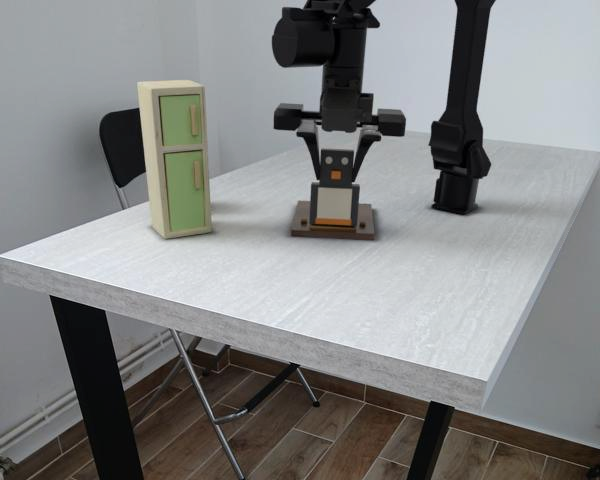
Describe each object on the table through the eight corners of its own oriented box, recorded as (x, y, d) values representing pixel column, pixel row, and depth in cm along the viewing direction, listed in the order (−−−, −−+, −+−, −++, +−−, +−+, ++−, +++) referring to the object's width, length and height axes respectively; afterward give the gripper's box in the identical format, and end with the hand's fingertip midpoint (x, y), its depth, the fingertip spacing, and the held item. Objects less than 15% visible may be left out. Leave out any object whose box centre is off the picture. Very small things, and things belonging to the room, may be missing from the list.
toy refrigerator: (164, 241, 97) (151, 88, 85) (150, 227, 102) (136, 81, 91) (214, 234, 100) (207, 86, 89) (197, 221, 106) (189, 79, 94)
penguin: (356, 223, 103) (357, 227, 100) (310, 220, 103) (309, 224, 100) (362, 150, 98) (362, 152, 95) (313, 147, 98) (312, 149, 95)
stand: (373, 240, 100) (374, 229, 99) (290, 236, 101) (291, 225, 100) (370, 209, 114) (371, 200, 113) (297, 206, 114) (298, 196, 114)
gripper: (270, 68, 82) (268, 191, 91) (415, 76, 82) (400, 199, 90) (278, 59, 92) (276, 172, 100) (409, 66, 91) (395, 179, 100)
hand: (335, 180), depth 97 cm, fingers closed on penguin, 5 cm apart
